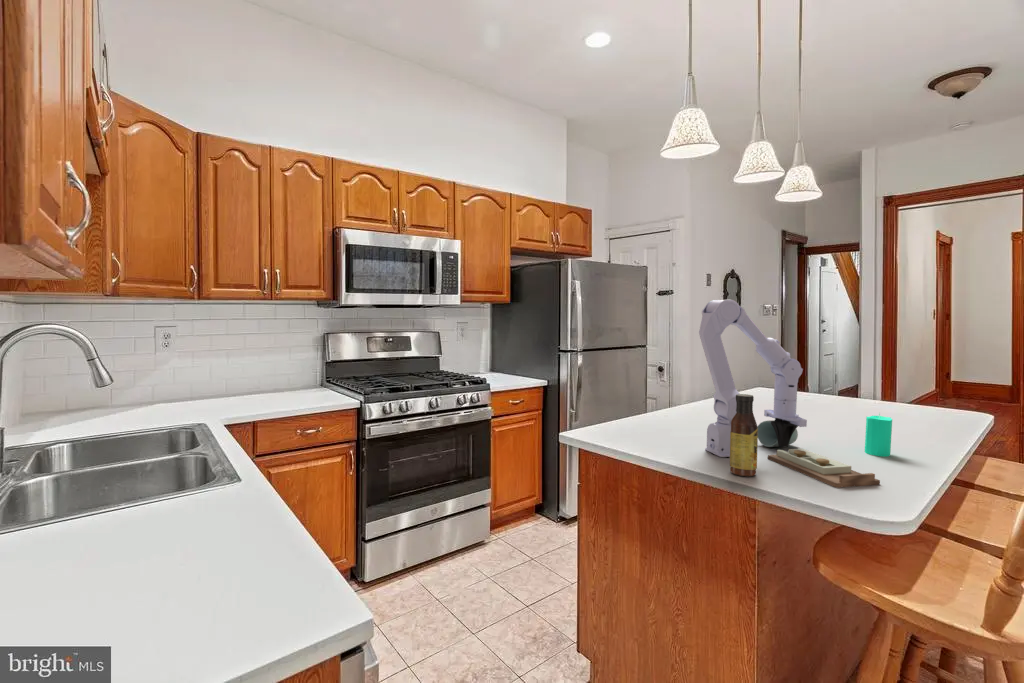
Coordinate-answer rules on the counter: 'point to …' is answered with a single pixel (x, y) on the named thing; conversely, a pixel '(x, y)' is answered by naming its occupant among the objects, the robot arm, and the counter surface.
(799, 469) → the board
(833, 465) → the panel
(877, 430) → the candle
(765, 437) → the cup
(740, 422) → the sauce bottle
